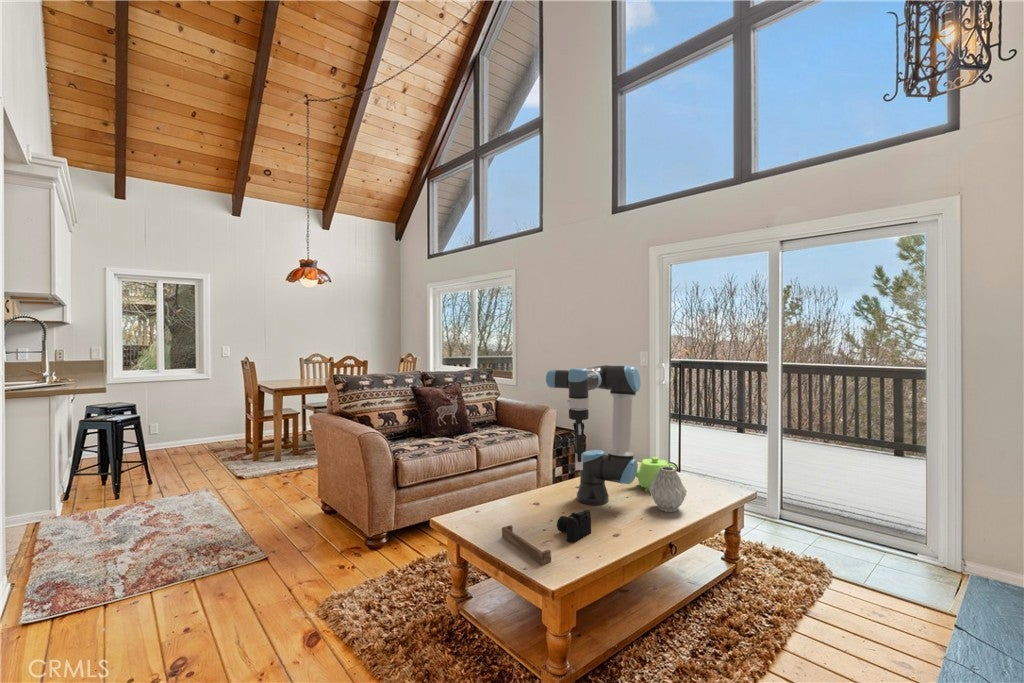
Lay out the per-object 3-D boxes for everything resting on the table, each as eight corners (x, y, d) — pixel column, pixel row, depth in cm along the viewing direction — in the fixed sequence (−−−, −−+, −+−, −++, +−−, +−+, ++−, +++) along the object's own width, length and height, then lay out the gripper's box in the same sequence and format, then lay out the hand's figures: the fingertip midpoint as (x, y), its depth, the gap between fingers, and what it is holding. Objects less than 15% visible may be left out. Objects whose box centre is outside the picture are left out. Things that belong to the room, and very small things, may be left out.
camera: (573, 525, 196) (573, 502, 196) (594, 533, 188) (594, 508, 188) (551, 536, 186) (551, 511, 186) (573, 544, 179) (573, 518, 178)
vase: (645, 502, 221) (645, 463, 221) (680, 502, 221) (680, 463, 220) (654, 516, 205) (654, 474, 204) (692, 516, 204) (692, 474, 204)
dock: (511, 535, 187) (510, 525, 187) (550, 561, 165) (550, 550, 165) (502, 537, 185) (501, 527, 185) (541, 565, 163) (541, 553, 163)
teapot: (674, 481, 251) (674, 451, 251) (679, 495, 230) (679, 463, 230) (626, 478, 257) (626, 449, 256) (626, 491, 236) (626, 460, 235)
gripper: (568, 405, 187) (568, 464, 188) (569, 411, 174) (570, 474, 175) (587, 405, 186) (587, 464, 187) (589, 411, 173) (590, 474, 174)
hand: (579, 469), depth 181 cm, fingers closed
